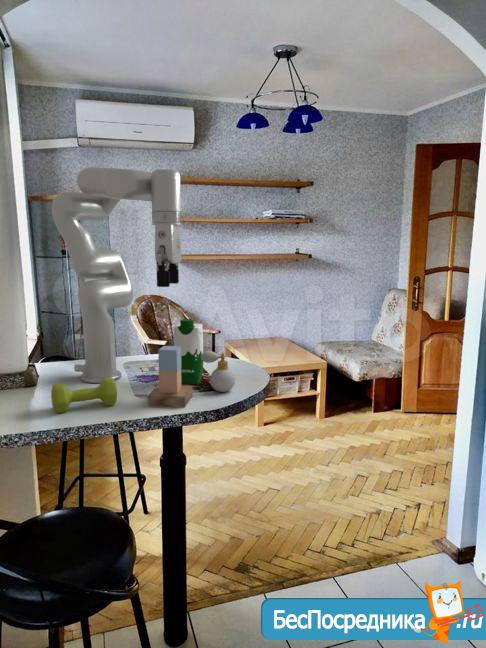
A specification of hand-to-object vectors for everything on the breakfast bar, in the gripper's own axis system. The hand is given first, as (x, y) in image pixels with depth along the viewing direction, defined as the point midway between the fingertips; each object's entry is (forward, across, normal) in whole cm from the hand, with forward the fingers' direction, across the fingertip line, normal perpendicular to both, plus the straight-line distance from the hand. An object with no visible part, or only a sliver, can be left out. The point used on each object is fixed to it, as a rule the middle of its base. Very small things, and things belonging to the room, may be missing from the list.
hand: (168, 285), depth 127 cm
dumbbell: (+33, -8, +21) cm, 40 cm away
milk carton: (+32, +19, -1) cm, 38 cm away
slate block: (+23, 0, 0) cm, 23 cm away
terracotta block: (+29, 0, 0) cm, 29 cm away
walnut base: (+32, 0, 0) cm, 32 cm away
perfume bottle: (+32, +10, -12) cm, 36 cm away
